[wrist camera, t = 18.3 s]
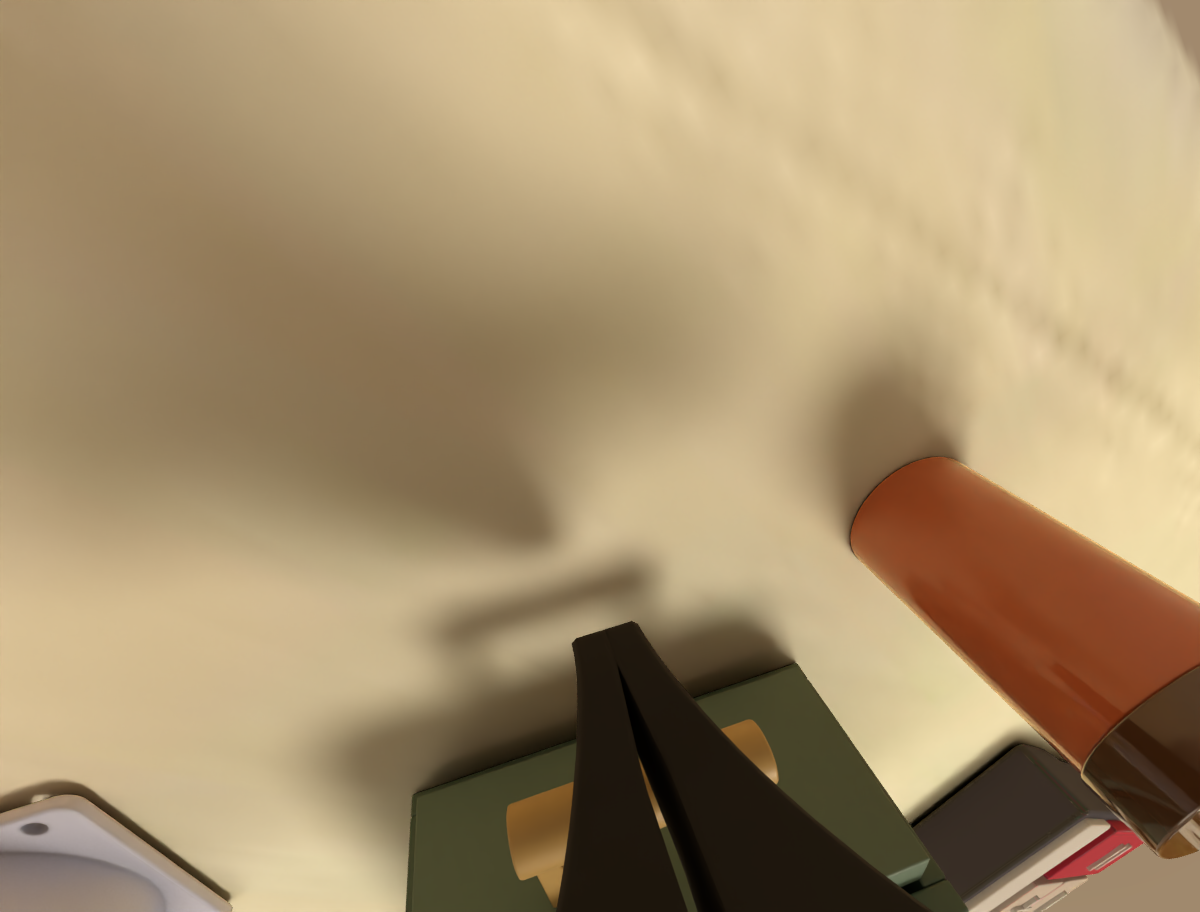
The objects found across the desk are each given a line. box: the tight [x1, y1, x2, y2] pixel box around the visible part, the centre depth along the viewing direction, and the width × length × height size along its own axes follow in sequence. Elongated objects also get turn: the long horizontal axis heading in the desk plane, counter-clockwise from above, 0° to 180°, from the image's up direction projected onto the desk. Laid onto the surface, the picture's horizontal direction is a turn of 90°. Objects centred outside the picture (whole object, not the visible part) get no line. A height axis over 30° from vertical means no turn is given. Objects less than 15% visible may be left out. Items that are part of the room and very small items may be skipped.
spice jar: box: [850, 457, 1200, 859], centre depth 13 cm, size 4×4×8 cm
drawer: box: [412, 667, 930, 912], centre depth 16 cm, size 15×13×6 cm
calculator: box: [912, 744, 1143, 912], centre depth 31 cm, size 11×4×15 cm
